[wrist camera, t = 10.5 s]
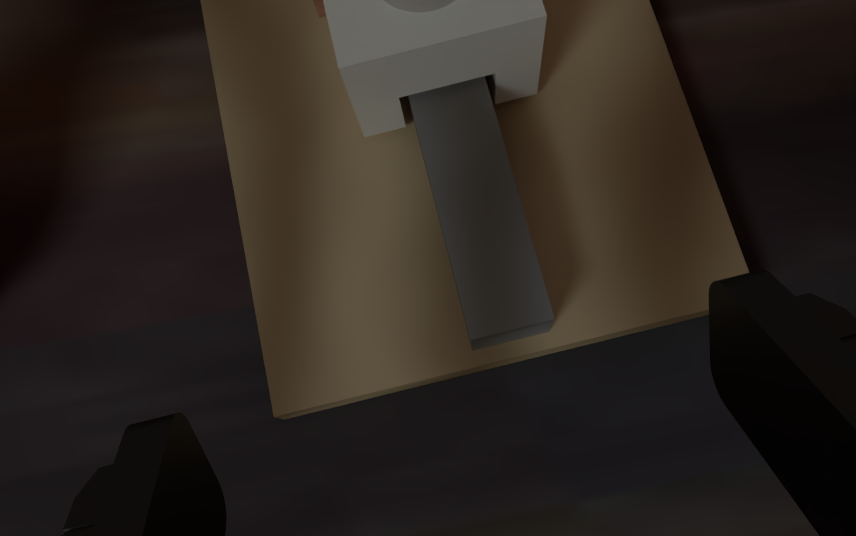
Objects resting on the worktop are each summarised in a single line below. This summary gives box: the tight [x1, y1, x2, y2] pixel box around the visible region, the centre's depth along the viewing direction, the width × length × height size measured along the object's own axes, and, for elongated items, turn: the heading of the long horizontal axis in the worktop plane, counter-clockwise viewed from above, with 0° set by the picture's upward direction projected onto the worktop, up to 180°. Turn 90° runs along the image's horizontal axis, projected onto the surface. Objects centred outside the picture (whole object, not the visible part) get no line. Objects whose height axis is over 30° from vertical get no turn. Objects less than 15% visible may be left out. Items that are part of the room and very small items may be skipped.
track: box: [200, 0, 749, 419], centre depth 23 cm, size 15×17×6 cm
